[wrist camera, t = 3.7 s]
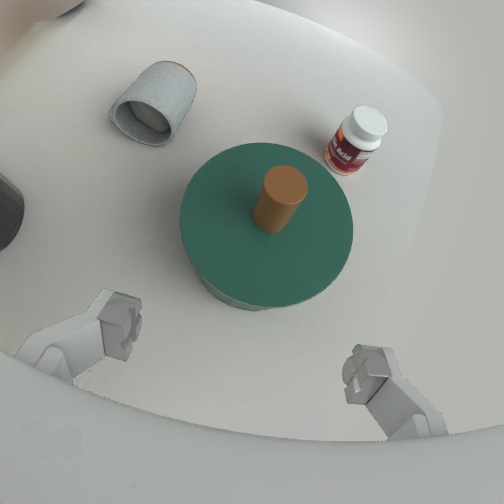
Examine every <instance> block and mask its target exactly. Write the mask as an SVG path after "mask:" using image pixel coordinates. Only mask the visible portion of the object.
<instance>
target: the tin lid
mask: <svg viewBox="0 0 504 504" xmlns="http://www.w3.org/2000/svg"><path fill="white" fill-rule="evenodd" d="M180 230H181V235H182V240H183V243H184V246H185V249H186V252H187V254H188V257H189V259H190V261H191V263H192V264H193V266H194V267H195V269H196V270H197V272H198V273H199V274H200V275H201V276H202V277H203V279H204V280H205V281H206V282H207V283H208V284H210V285H211V286H212V287H213V288H214V289H215V290H217V291H218V292H220V293H222V294H223V295H225V296H226V297H228V298H230V299H233V300H235V301H237V302H240V303H243V304H246V305H249V306H255V307H261V308H279V307H287V306H291V305H295V304H298V303H301V302H303V301H306V300H308V299H311V298H312V297H314V296H316V295H317V294H319V293H321V292H322V291H323V290H324V289H326V288H327V287H328V286H329V285H330V284H331V283H332V282H333V281H334V280H335V279H336V278H337V276H338V275H339V274H340V272H341V271H342V269H343V267H344V265H345V263H346V261H347V259H348V256H349V253H350V250H351V245H352V240H353V222H352V215H351V211H350V207H349V204H348V201H347V198H346V196H345V194H344V192H343V190H342V189H341V187H340V186H339V184H338V182H337V181H336V180H335V178H334V177H333V176H332V175H331V174H330V173H329V172H328V171H327V170H326V169H325V168H324V167H323V166H322V165H321V164H320V163H318V162H317V161H316V160H314V159H313V158H311V157H310V156H308V155H306V154H304V153H302V152H300V151H298V150H296V149H293V148H290V147H287V146H283V145H278V144H272V143H250V144H244V145H239V146H235V147H233V148H230V149H227V150H225V151H223V152H221V153H219V154H217V155H216V156H214V157H213V158H211V159H210V160H209V161H207V162H206V163H205V164H204V165H203V166H202V167H201V168H200V169H199V170H198V171H197V173H196V174H195V175H194V176H193V178H192V180H191V181H190V183H189V184H188V186H187V189H186V191H185V193H184V196H183V200H182V204H181V210H180Z"/></svg>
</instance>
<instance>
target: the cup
mask: <svg viewBox="0 0 504 504" xmlns="http://www.w3.org/2000/svg"><path fill="white" fill-rule="evenodd" d="M23 215H24V200H23V196H22V194H21V192H20V191H19V190H18V189H17V188H16V187H15V186H14V185H13V184H12V183H11V182H10V181H9V180H7V179H6V178H5V177H4V176H3V175H2V174H1V173H0V251H1V250H3V249H4V248H6V247H7V246H8V245H9V244H10V243H11V242H12V240H13V239H14V238H15V236H16V234H17V232H18V230H19V228H20V226H21V223H22V219H23Z"/></svg>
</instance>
